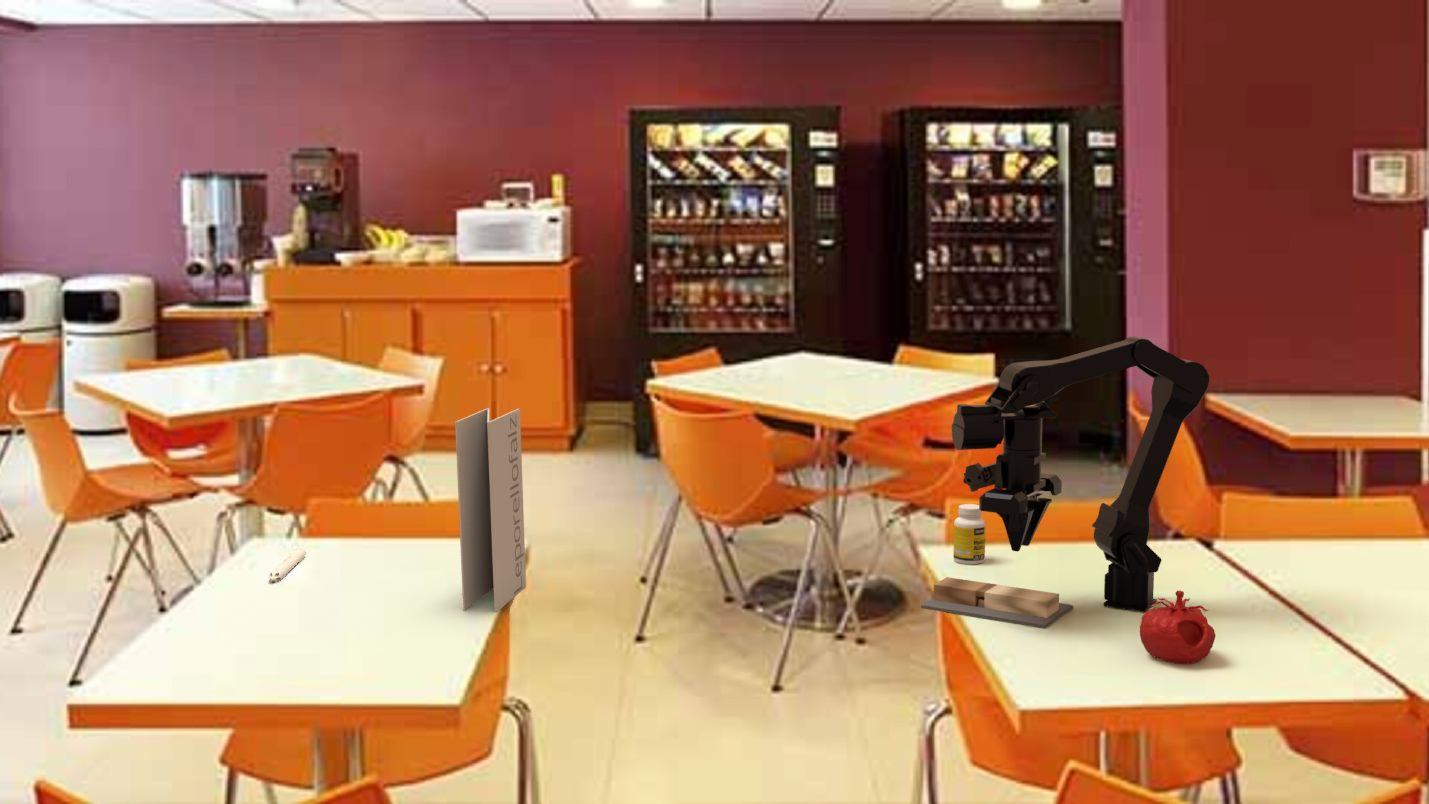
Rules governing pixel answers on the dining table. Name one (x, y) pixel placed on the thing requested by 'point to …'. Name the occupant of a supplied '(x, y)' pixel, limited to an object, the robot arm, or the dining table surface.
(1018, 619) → the underlay mat
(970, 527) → the supplement bottle
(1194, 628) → the pomegranate
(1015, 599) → the birch plank
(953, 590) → the wooden block
